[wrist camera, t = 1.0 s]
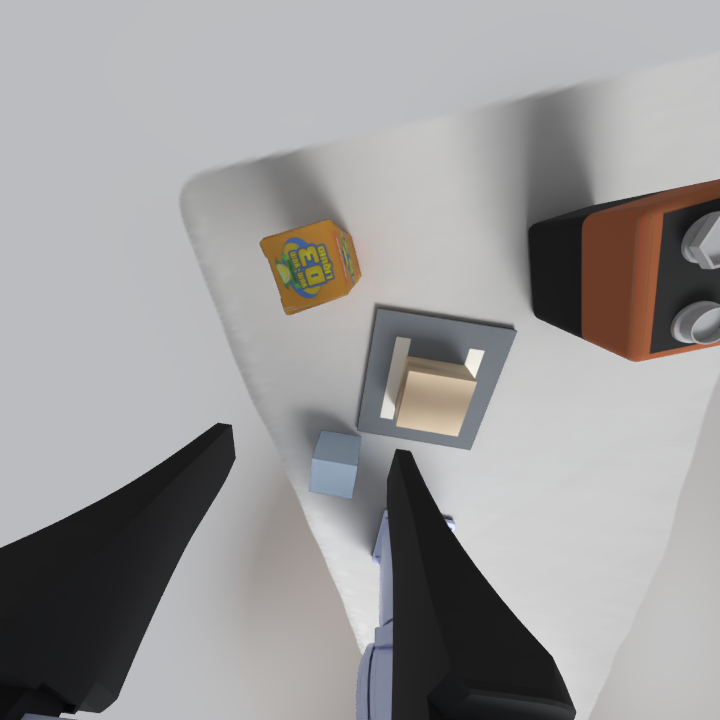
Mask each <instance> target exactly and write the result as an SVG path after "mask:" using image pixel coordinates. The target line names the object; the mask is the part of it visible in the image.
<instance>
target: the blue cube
mask: <svg viewBox="0 0 720 720" xmlns="http://www.w3.org/2000/svg"><path fill="white" fill-rule="evenodd" d="M360 442H361V437H359V436H353V435H347V434H341V433H335V432H330V431H324V430H322V431H321V434H320V437H319V440H318V442H317V445H316V448H315V451H314V454H313V457H312V463H311V474H310V485H309V492H314V493H320V494H325V495H331V496H337V497H342V498H348V499H352V494H353V488H354V483H355V478H356V472H357V467H358V459H359V451H360Z"/></svg>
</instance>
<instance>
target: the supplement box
mask: <svg viewBox="0 0 720 720" xmlns="http://www.w3.org/2000/svg"><path fill="white" fill-rule="evenodd" d="M260 246H261V249H262V251H263V253H264V255H265V257H266V258H267V259H268V261H269V264H270V266H271V270H272V272H273V275H274V278H275V281H276V284H277V287H278V290H279V293H280V296H281V302H282V305H283V308H284V312H285V313H286V314H287V315H292V314H295V313H298V312H300V311H303V310H306V309H309V308H312V307H315V306H318V305H321V304H323V303H326V302H329V301H332V300H335V299H337V298H340V297H343V296H345V295H348V293H349V292H350V290H351V289H352V288H353V287H354V285H355V284H356V283H357V282H358V280H359V279H360V278H361V272H360V268H359V264H358V260H357V256H356V252H355V248H354V244H353V241H352V237H351V236H350V235H349V234H348V233H346V232H345V231H344V230H342V229H341V228H340V227H339V226H337V225H336V224H335V223H333V222H332V221H331V220H329V219H328V220H324V221H321V222H317V223H314V224H311V225H307V226H304V227H300V228H297V229H293V230H290V231H286V232H283V233H279V234H276V235H272V236H268V237H265V238H263V239H262V241H260Z"/></svg>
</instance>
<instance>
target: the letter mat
mask: <svg viewBox="0 0 720 720" xmlns="http://www.w3.org/2000/svg"><path fill="white" fill-rule="evenodd" d="M516 333H517V331H516V330H515V329H508V328H502V327H496V326H489V325H483V324H477V323H471V322H464V321H458V320H452V319H445V318H439V317H433V316H427V315H420V314H414V313H408V312H401V311H395V310H389V309H382V308H378V309H377V315H376V321H375V327H374V333H373V339H372V345H371V351H370V357H369V363H368V369H367V375H366V381H365V387H364V393H363V399H362V404H361V410H360V416H359V422H358V428H357V431H361V432H367V433H372V434H378V435H384V436H390V437H396V438H402V439H408V440H414V441H419V442H425V443H431V444H437V445H443V446H449V447H455V448H460V449H466V450H471V447H472V445H473V442H474V440H475V437H476V435H477V432H478V430H479V427H480V424H481V422H482V419H483V417H484V414H485V412H486V409H487V407H488V404H489V402H490V399H491V396H492V394H493V391H494V389H495V386H496V384H497V381H498V379H499V376H500V374H501V371H502V368H503V366H504V363H505V361H506V358H507V356H508V353H509V351H510V348H511V346H512V343H513V340H514V338H515V335H516ZM406 356H411V357H417V358H423V359H429V360H436V361H442V362H448V363H454V364H460V365H466V367H467V368H468V369H469V371H470V372H471V374H472V375H473V377H474V378H475V380H476V381H477V384H476V387H475V390H474V393H473V395H472V398H471V401H470V404H469V406H468V409H467V412H466V415H465V418H464V420H463V423H462V426H461V429H460V431H459V434H458V437H457V436H451V435H445V434H439V433H433V432H428V431H422V430H416V429H410V428H404V427H398V426H396V418H395V402H396V398H397V394H398V389H399V385H400V380H401V376H402V372H403V367H404V363H405V359H406Z"/></svg>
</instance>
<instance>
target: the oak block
mask: <svg viewBox="0 0 720 720" xmlns="http://www.w3.org/2000/svg"><path fill="white" fill-rule="evenodd" d="M476 384H477V381H476V380H475V378H474V377H473V375H472V374H471V372H470V371H469V369H468V368H467V367H466V365H460V364H454V363H448V362H442V361H436V360H429V359H423V358H417V357H411V356H406V359H405V363H404V367H403V372H402V376H401V380H400V385H399V389H398V394H397V398H396V402H395V418H396V426H398V427H404V428H410V429H416V430H422V431H428V432H433V433H439V434H445V435H451V436H457V437H458V434H459V431H460V429H461V426H462V423H463V420H464V418H465V415H466V412H467V409H468V406H469V404H470V401H471V398H472V395H473V393H474V390H475V387H476Z"/></svg>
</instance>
